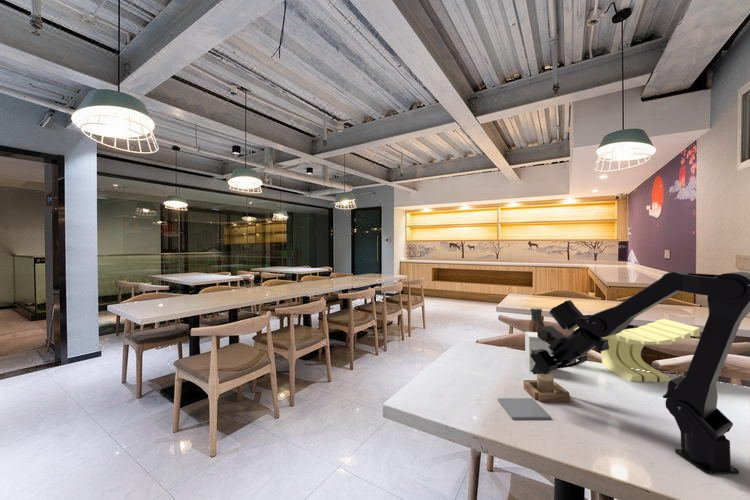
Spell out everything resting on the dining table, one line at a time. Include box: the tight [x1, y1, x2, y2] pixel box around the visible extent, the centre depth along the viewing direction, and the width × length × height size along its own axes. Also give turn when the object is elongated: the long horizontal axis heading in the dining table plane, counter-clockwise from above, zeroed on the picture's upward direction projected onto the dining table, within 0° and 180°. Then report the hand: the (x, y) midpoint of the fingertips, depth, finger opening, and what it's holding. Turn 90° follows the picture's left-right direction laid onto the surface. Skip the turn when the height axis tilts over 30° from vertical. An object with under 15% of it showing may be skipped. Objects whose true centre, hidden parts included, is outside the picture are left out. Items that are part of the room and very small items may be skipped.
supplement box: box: [524, 331, 552, 372], centre depth 111 cm, size 7×7×13 cm
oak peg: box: [536, 372, 555, 393], centre depth 91 cm, size 4×4×10 cm
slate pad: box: [497, 397, 552, 420], centre depth 83 cm, size 10×10×1 cm
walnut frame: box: [523, 379, 571, 403], centre depth 91 cm, size 10×10×2 cm
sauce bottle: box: [528, 307, 546, 332], centre depth 123 cm, size 6×6×20 cm
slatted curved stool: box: [573, 318, 701, 383], centre depth 106 cm, size 30×16×18 cm, turn 85°
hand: (540, 370), depth 93 cm, fingers open, 7 cm apart
